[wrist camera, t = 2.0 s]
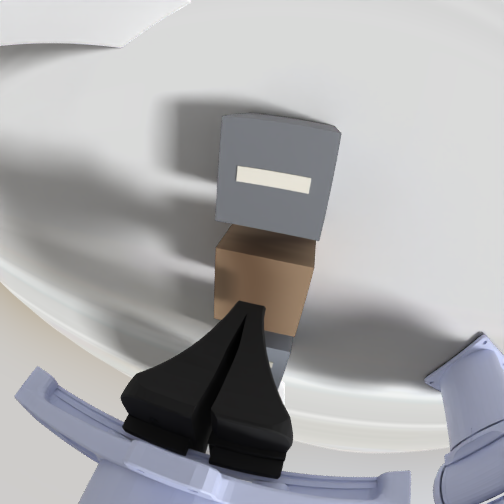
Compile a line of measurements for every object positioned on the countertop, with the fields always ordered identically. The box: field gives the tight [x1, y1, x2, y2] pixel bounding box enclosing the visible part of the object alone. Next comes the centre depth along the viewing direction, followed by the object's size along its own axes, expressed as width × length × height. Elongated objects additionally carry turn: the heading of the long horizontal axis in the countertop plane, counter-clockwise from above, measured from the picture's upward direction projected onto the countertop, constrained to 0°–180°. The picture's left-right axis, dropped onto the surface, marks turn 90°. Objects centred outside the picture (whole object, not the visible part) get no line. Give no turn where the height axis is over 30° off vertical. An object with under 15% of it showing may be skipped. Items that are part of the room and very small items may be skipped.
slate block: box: [264, 330, 293, 390], centre depth 21 cm, size 5×5×5 cm
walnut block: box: [214, 224, 316, 337], centre depth 17 cm, size 5×5×5 cm
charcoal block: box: [215, 113, 341, 241], centre depth 14 cm, size 5×5×5 cm
